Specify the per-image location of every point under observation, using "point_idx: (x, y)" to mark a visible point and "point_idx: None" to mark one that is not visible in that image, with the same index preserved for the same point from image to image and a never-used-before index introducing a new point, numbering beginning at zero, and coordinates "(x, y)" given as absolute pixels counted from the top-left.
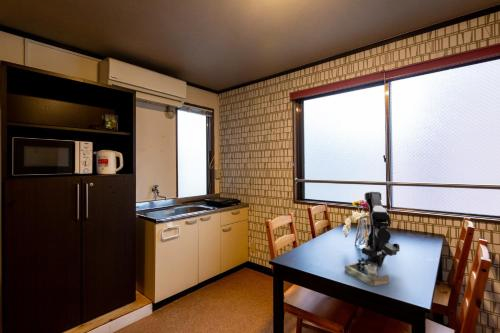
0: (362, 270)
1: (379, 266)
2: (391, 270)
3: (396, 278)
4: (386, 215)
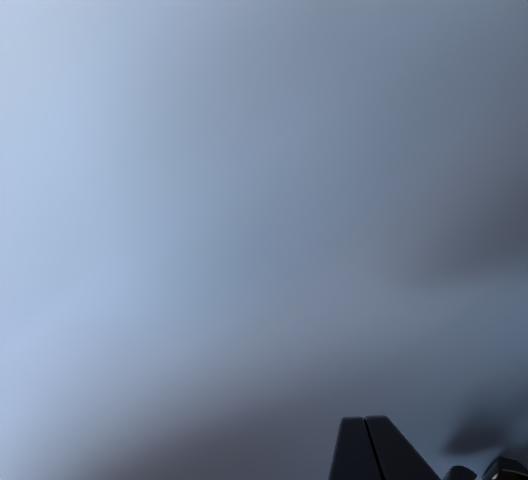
0: (524, 467)
1: (387, 434)
2: (19, 339)
3: (206, 25)
4: None
